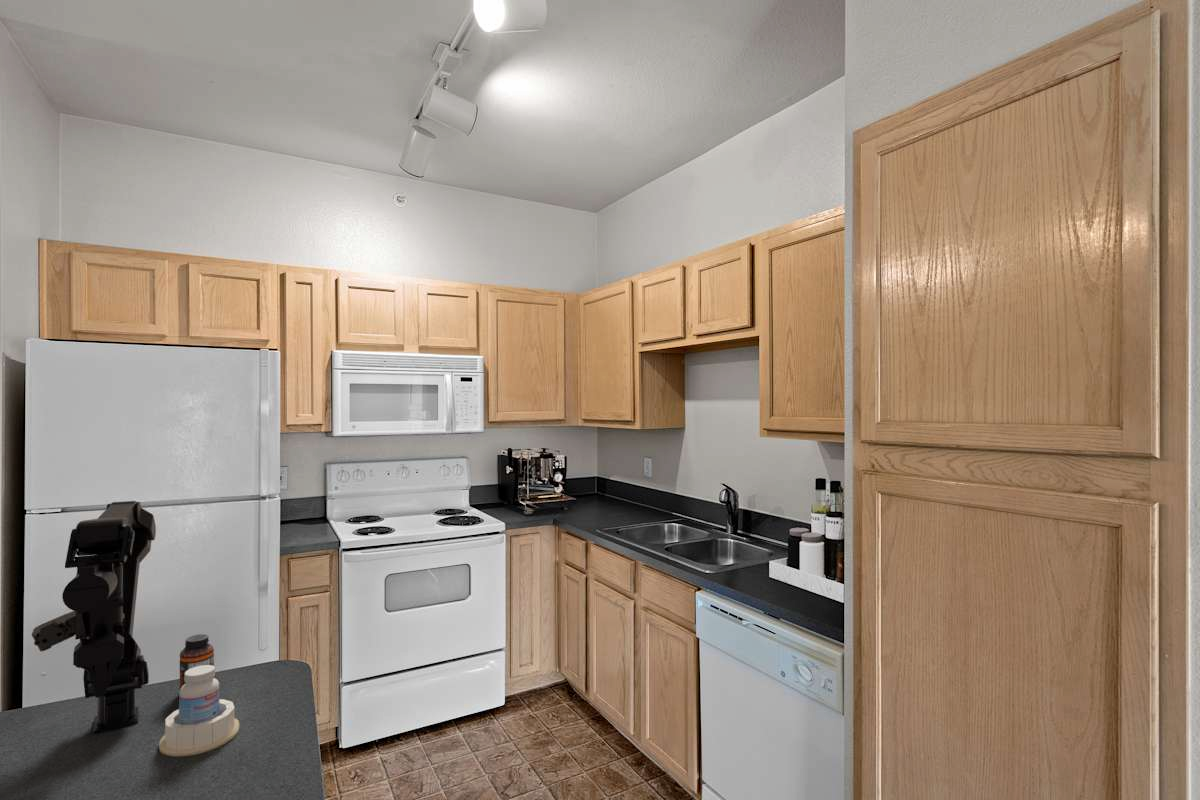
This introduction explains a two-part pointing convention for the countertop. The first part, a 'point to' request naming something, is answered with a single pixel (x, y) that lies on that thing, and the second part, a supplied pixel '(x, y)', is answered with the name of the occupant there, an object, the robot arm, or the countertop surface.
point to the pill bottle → (199, 696)
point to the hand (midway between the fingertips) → (100, 686)
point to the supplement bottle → (195, 654)
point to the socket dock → (199, 733)
